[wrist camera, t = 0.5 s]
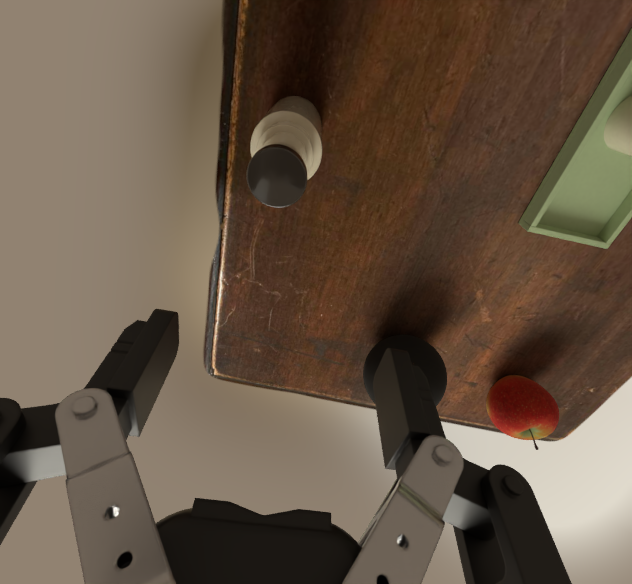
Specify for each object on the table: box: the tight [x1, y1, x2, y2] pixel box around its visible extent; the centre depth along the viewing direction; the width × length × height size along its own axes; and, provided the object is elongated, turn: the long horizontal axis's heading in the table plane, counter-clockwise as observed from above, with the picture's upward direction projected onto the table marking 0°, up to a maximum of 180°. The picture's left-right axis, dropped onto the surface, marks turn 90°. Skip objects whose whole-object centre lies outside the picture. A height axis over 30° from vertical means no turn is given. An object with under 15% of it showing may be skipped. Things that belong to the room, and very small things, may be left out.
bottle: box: [246, 96, 322, 208], centre depth 26 cm, size 5×5×16 cm
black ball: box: [363, 335, 447, 406], centre depth 44 cm, size 10×10×10 cm
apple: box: [486, 375, 559, 450], centre depth 47 cm, size 8×8×10 cm
